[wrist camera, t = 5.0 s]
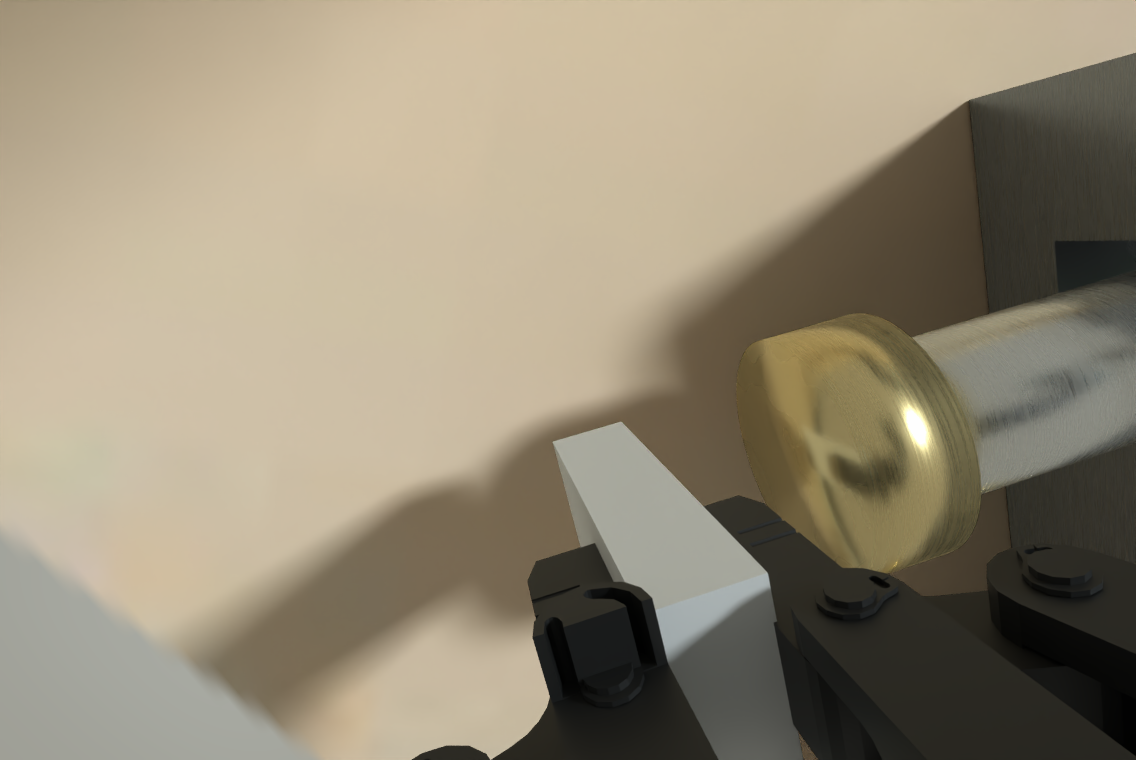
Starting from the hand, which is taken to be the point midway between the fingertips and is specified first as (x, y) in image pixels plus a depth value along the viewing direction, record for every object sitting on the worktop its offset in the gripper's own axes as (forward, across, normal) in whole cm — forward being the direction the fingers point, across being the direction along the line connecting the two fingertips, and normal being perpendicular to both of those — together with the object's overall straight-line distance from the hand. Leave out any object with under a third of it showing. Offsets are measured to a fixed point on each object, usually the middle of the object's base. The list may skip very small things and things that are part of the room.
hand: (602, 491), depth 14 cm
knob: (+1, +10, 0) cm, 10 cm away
